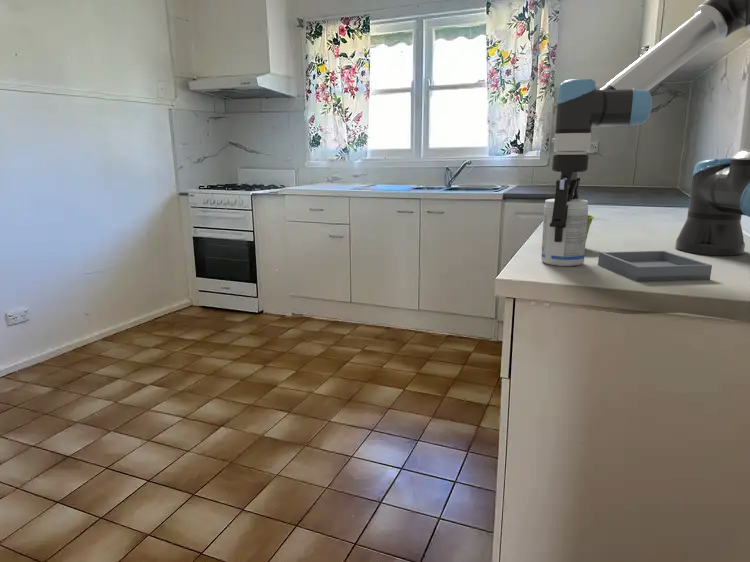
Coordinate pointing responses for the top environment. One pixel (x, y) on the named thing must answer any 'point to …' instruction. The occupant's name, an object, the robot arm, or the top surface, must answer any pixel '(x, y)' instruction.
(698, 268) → the tray
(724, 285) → the top surface
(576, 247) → the supplement tub
